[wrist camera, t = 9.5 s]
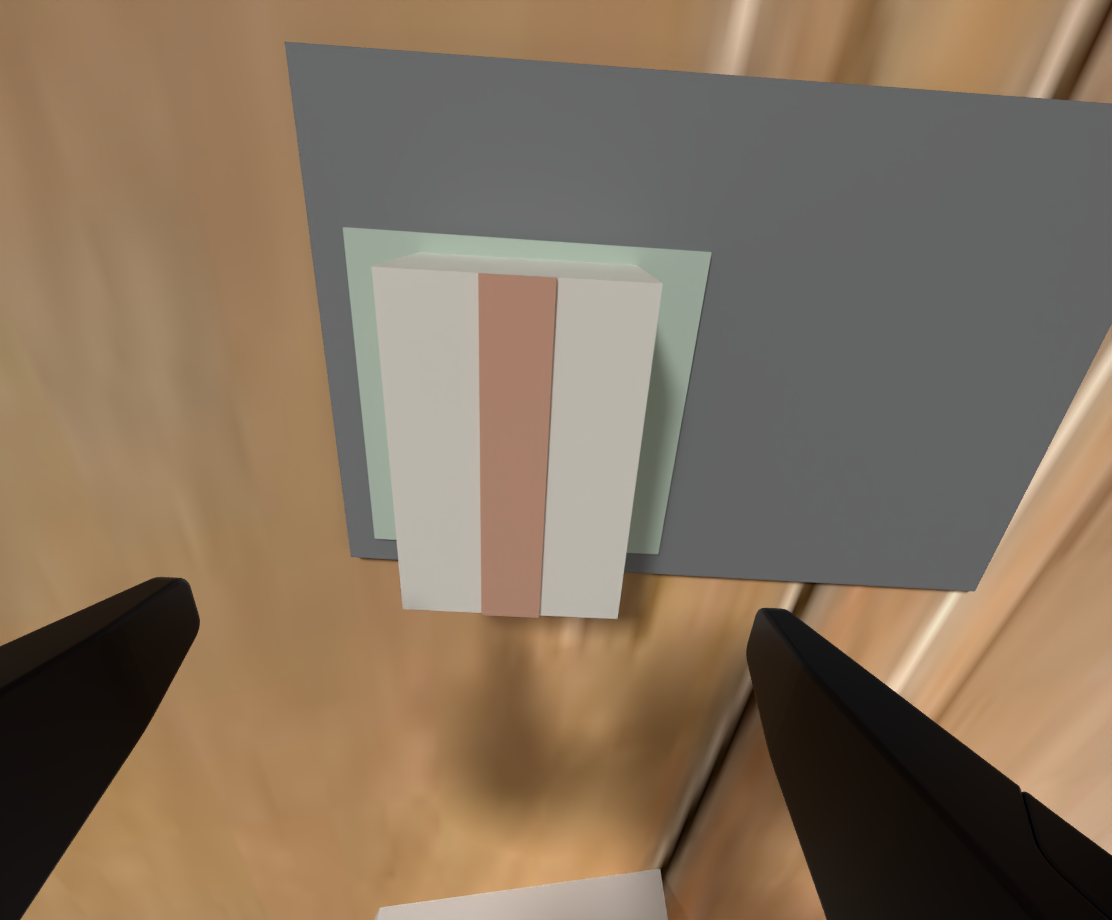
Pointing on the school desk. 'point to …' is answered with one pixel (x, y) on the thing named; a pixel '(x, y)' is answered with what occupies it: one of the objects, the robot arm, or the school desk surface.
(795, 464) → the mat
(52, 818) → the robot arm
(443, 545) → the card deck
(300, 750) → the school desk surface
